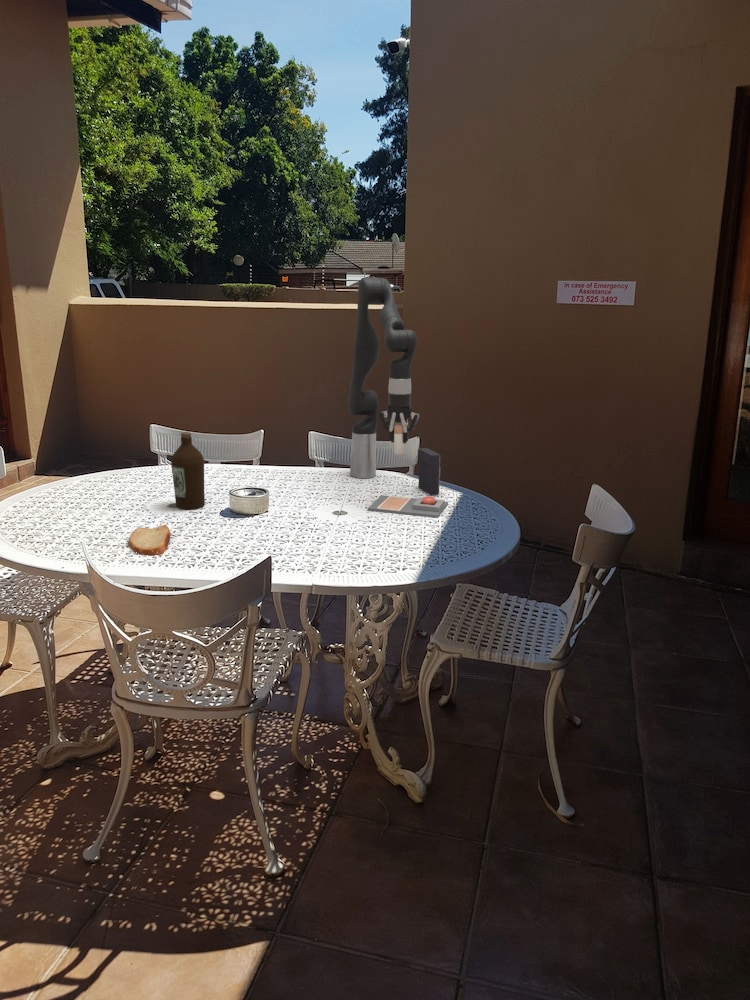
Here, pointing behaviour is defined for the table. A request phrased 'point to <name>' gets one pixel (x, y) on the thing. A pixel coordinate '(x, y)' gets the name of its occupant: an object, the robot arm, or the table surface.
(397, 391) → the robot arm
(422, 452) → the dark grey upright block
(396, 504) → the board
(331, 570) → the table surface
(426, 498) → the button
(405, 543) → the table surface
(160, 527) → the bread slice
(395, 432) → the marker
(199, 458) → the olive oil
